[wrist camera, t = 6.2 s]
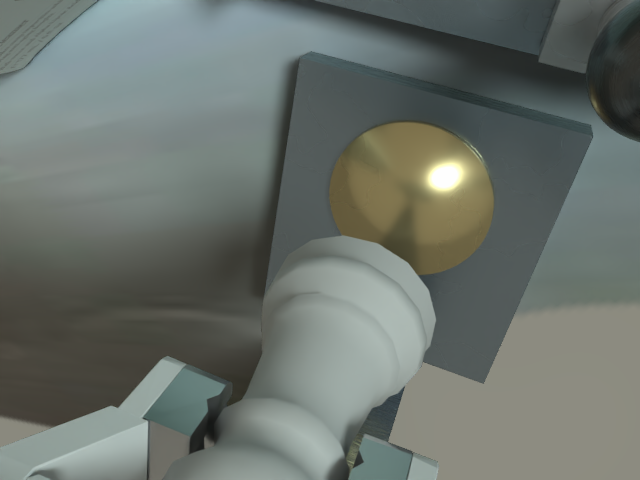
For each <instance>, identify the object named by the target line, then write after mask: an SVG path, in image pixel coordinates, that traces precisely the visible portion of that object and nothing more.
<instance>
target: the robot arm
mask: <svg viewBox="0 0 640 480" xmlns="http://www.w3.org/2000/svg"><path fill="white" fill-rule="evenodd" d="M232 388H233V383H231V382H230V381H227V380H225V379H222V378H220V377H218V376H215V375H213V374H211V373H208V372H206V371H203V370H201V369H199V368H196V367H194V366H192V365H189V364H186V363H184V362H181V361H179V360H176V359H174V358H171V357H169V356H166V357H164V358H163V359H161V360H160V361H159V362H158V363H157V364H156V365H155V366H154V367H153V369H152V370H151V371H150V372H149V373H148V374H147V375H146V376H145V378H144V379H143V380H142V381H141V382H140V383H139V384H138V386H137V387H136V388H135V389H134V390H133V391H132V392H131V393H130V395H129V396H128V397H127V398H126V399H125V400H124V401H123V403H122V404H121V405H120V406H119V407H118V408H116V407H114V406H109V407H106V408H104V409H101V410H98V411H96V412H93V413H90V414H88V415H85V416H82V417H80V418H77V419H74V420H72V421H69V422H66V423H64V424H61V425H58V426H56V427H53V428H50V429H48V430H45V431H42V432H40V433H37V434H34V435H32V436H29V437H26V438H24V439H21V440H18V441H16V442H13V443H10V444H8V445H5V446H2V447H0V480H162V479H163V478H164V476H165V474H166V473H167V471H168V469H169V468H170V466H171V464H172V462H173V461H175V460H178V459H180V458H182V457H185V456H187V455H189V454H192V453H194V452H197V451H200V450H203V449H207V448H210V447H213V446H214V445H215V444H214V423H215V422H216V420H217V418H218V417H219V415H220V414H221V412H222V411H223V409H224V408H226V407H228V406H227V402H228V400H229V399H230V397H231V396H232ZM438 469H439V464H438V461H435V460H432V459H430V458H427V457H425V456H422V455H420V454H417V453H412V451H410V450H407V449H405V448H402V447H399V446H396V445H394V444H391V443H389V442H386V441H383V440H381V439H378V438H375V437H373V436H370V435H367V434H364V437H363V439H362V442H361V445H360V448H359V451H358V454H357V457H356V460H355V463H354V466H353V469H352V471H351V473H350V476H349V479H348V480H436V479H437V474H438Z"/></svg>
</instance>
